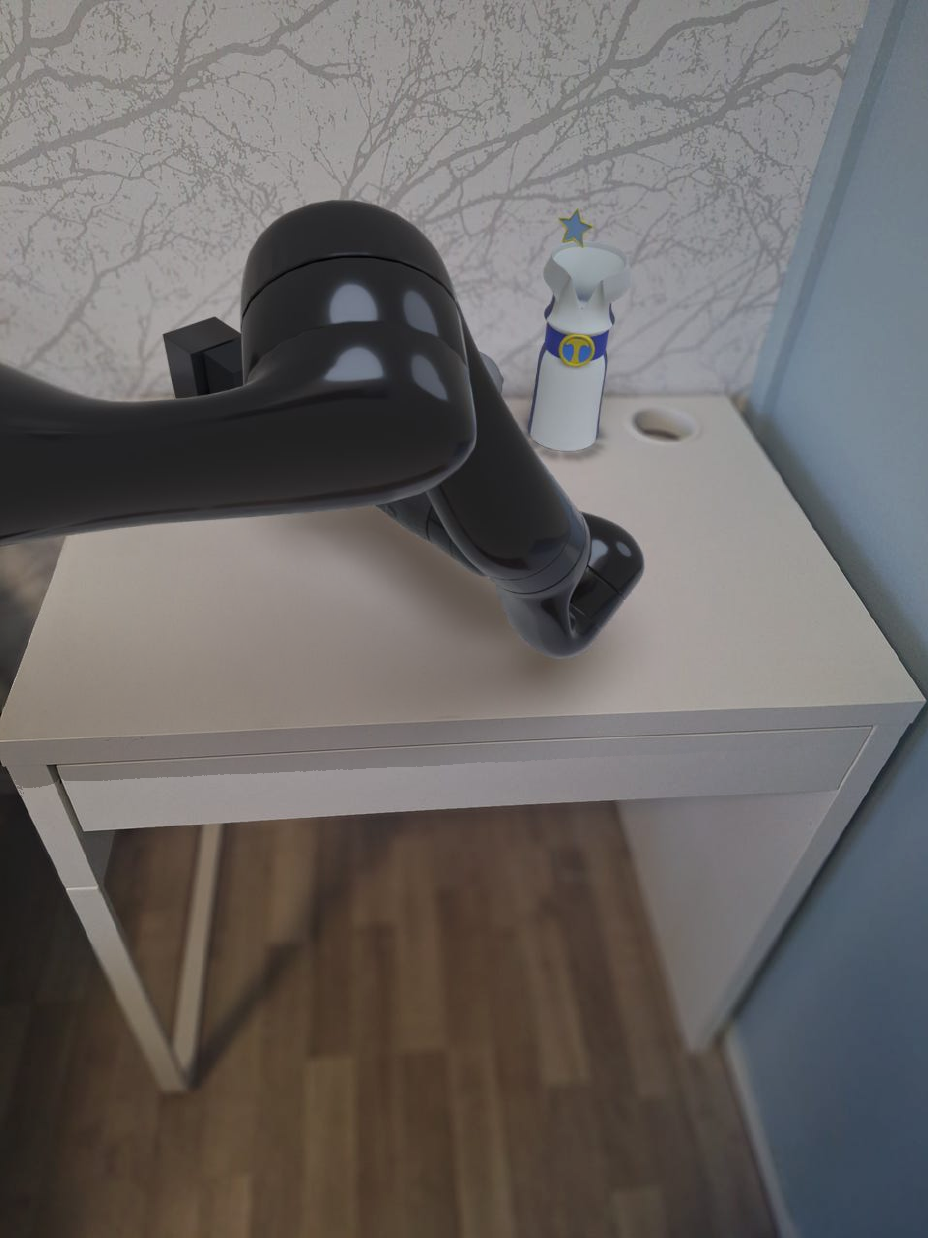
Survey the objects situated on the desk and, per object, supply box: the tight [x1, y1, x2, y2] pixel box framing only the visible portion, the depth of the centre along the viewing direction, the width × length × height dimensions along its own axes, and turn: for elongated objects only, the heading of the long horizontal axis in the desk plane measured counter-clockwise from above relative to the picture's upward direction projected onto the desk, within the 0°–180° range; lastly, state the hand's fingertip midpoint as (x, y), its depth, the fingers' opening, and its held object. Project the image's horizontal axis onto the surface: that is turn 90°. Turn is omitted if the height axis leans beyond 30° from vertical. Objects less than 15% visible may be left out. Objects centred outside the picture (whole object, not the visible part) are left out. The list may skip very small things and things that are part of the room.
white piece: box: [527, 207, 633, 452], centre depth 91 cm, size 8×9×25 cm
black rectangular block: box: [203, 340, 243, 394], centre depth 91 cm, size 4×5×9 cm
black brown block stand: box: [162, 316, 241, 399], centre depth 92 cm, size 7×13×10 cm, turn 44°
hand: (298, 397), depth 82 cm, fingers open, 8 cm apart
